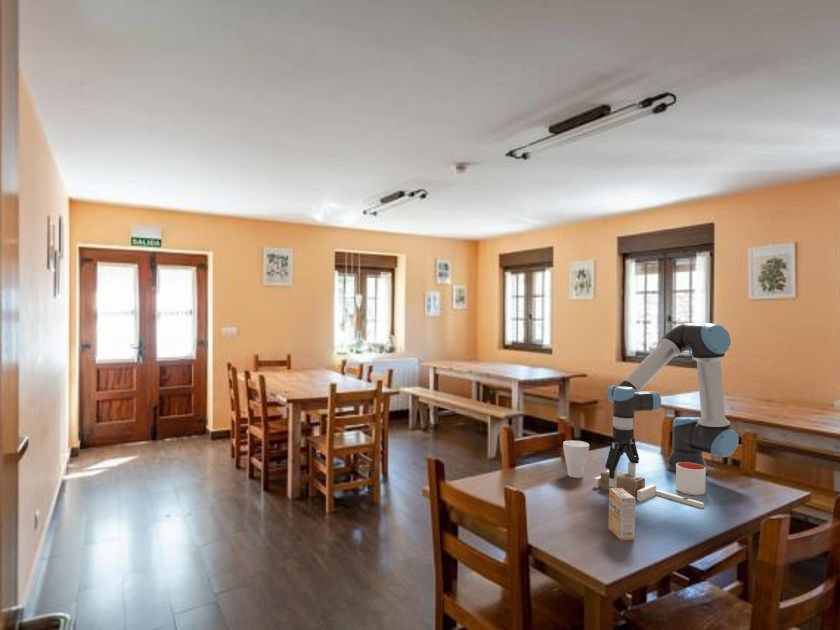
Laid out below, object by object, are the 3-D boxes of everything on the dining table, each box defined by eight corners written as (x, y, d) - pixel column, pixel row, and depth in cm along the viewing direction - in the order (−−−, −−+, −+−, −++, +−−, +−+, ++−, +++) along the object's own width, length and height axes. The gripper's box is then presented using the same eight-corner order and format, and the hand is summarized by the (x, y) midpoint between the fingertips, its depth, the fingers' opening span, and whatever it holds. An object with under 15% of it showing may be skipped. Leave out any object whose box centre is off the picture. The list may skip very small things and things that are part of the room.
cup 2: (709, 497, 191) (709, 470, 191) (680, 495, 193) (680, 468, 193) (700, 488, 201) (700, 463, 201) (672, 486, 203) (672, 461, 203)
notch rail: (610, 480, 209) (610, 471, 209) (703, 507, 181) (704, 497, 181) (593, 486, 201) (593, 477, 201) (688, 515, 173) (688, 505, 173)
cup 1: (591, 474, 216) (592, 442, 216) (585, 481, 207) (585, 448, 207) (566, 470, 222) (567, 439, 222) (559, 476, 213) (559, 444, 213)
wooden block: (610, 485, 204) (610, 467, 204) (644, 495, 193) (645, 476, 193) (600, 489, 199) (601, 470, 199) (635, 499, 188) (635, 480, 188)
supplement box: (607, 529, 162) (608, 487, 162) (622, 528, 162) (622, 487, 162) (619, 541, 154) (620, 497, 153) (635, 540, 154) (636, 497, 154)
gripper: (630, 421, 207) (630, 474, 207) (596, 430, 191) (595, 487, 191) (649, 425, 201) (648, 479, 201) (614, 434, 185) (613, 492, 185)
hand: (622, 483), depth 196 cm, fingers open, 13 cm apart
